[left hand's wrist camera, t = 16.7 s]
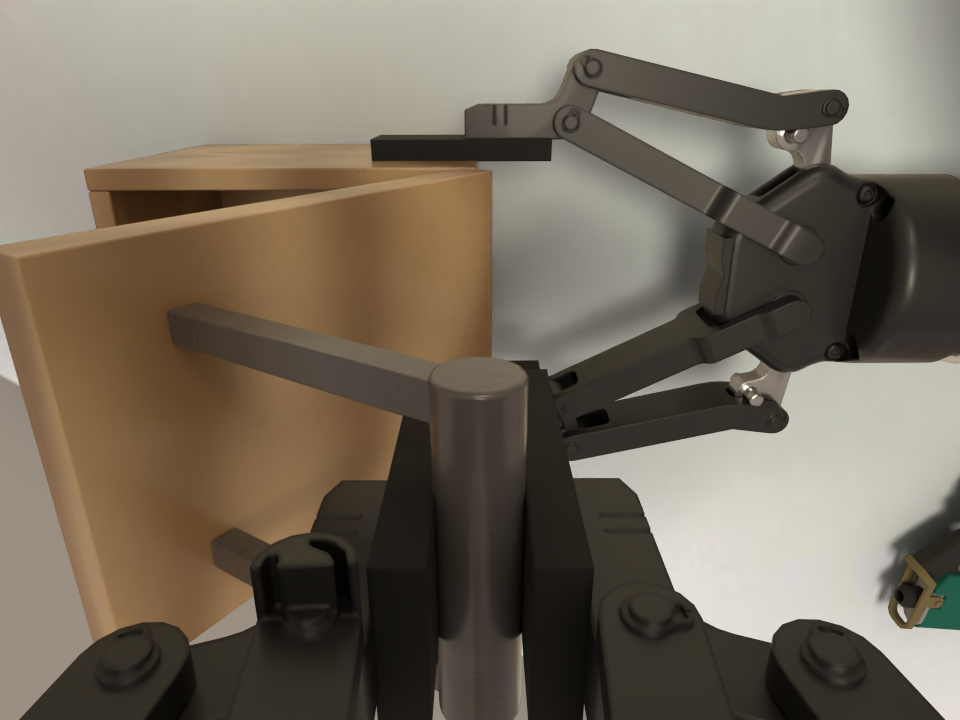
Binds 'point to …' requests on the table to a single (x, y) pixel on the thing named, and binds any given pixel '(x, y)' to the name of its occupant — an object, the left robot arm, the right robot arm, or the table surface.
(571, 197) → the table surface
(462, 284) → the lid
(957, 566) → the spray gun
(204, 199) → the chest
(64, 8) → the table surface
